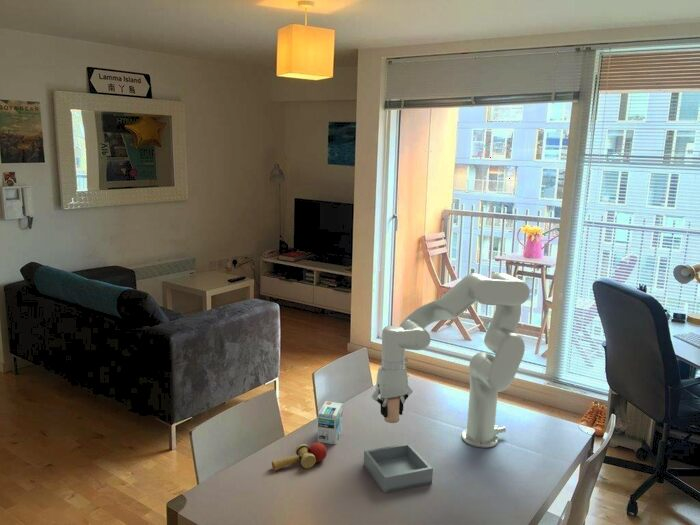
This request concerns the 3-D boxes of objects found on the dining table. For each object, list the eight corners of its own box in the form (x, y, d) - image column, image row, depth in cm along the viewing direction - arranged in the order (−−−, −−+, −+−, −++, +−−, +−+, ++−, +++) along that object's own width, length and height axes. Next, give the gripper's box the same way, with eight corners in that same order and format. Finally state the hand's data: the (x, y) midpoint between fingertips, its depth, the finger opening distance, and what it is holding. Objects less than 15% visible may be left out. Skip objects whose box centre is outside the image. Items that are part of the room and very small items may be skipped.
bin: (408, 457, 188) (408, 443, 187) (431, 483, 173) (433, 468, 172) (363, 465, 182) (364, 450, 181) (384, 493, 167) (385, 477, 167)
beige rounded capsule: (395, 415, 194) (395, 393, 193) (401, 421, 190) (402, 399, 188) (381, 417, 192) (382, 395, 191) (388, 424, 188) (388, 401, 186)
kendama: (279, 481, 174) (332, 461, 181) (275, 462, 173) (328, 442, 181) (271, 473, 181) (323, 454, 188) (268, 454, 180) (319, 436, 188)
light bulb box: (335, 445, 194) (336, 415, 192) (316, 442, 195) (317, 413, 193) (342, 430, 204) (343, 402, 202) (324, 428, 206) (325, 400, 204)
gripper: (410, 356, 194) (409, 406, 197) (364, 362, 187) (364, 413, 191) (421, 364, 187) (419, 415, 190) (373, 371, 181) (373, 423, 184)
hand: (391, 414), depth 191 cm, fingers closed on beige rounded capsule, 5 cm apart
